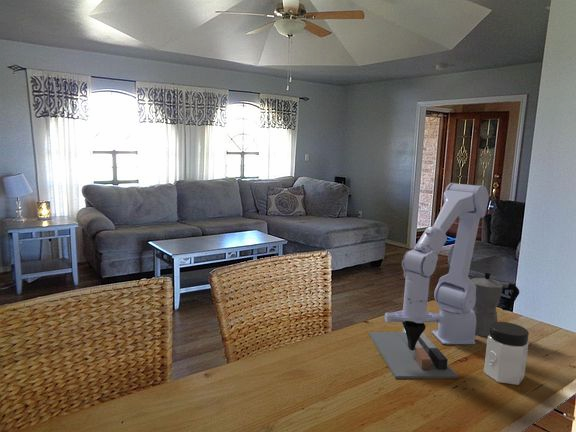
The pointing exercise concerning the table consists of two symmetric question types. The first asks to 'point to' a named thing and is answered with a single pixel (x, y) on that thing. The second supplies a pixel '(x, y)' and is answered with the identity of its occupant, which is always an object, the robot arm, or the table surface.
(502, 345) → the jar
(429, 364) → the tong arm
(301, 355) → the table surface
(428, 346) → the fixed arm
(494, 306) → the coffeepot
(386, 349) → the slate mat
